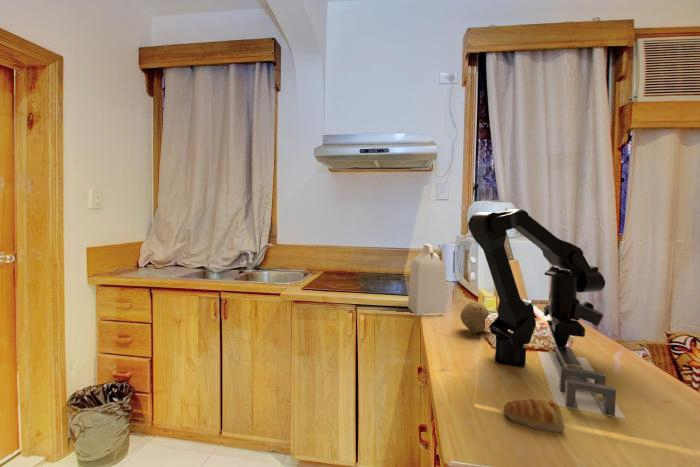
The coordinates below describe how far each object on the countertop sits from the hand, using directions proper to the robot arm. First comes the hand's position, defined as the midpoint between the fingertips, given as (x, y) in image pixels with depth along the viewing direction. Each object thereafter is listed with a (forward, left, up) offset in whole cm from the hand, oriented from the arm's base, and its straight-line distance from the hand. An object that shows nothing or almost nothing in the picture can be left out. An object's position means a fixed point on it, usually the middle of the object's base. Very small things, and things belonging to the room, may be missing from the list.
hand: (560, 351), depth 89 cm
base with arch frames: (0, -14, -2) cm, 14 cm away
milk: (-40, +29, -2) cm, 50 cm away
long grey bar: (0, -10, -1) cm, 10 cm away
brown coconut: (-22, +11, -2) cm, 24 cm away
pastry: (-9, -34, -2) cm, 36 cm away
